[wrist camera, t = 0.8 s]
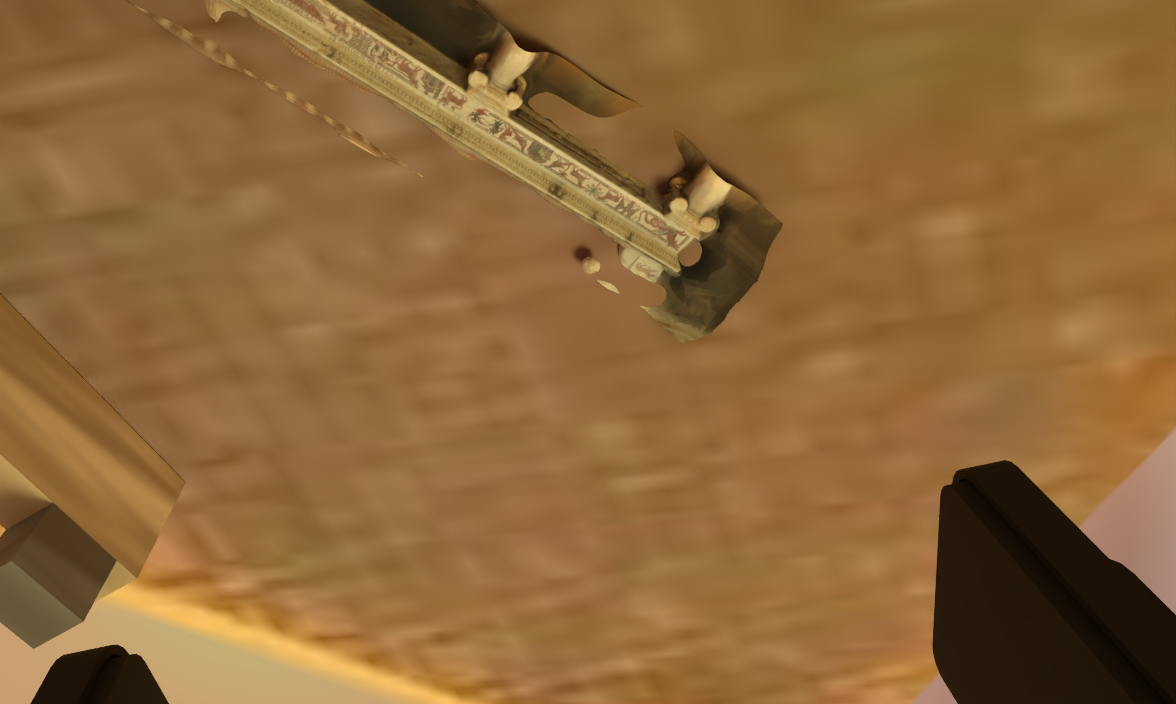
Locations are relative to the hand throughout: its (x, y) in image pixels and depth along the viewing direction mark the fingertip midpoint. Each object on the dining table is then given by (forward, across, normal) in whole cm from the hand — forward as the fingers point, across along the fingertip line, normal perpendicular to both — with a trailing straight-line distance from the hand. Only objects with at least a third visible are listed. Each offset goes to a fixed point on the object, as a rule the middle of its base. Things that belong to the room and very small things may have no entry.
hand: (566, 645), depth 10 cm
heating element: (+25, +2, -3) cm, 25 cm away
